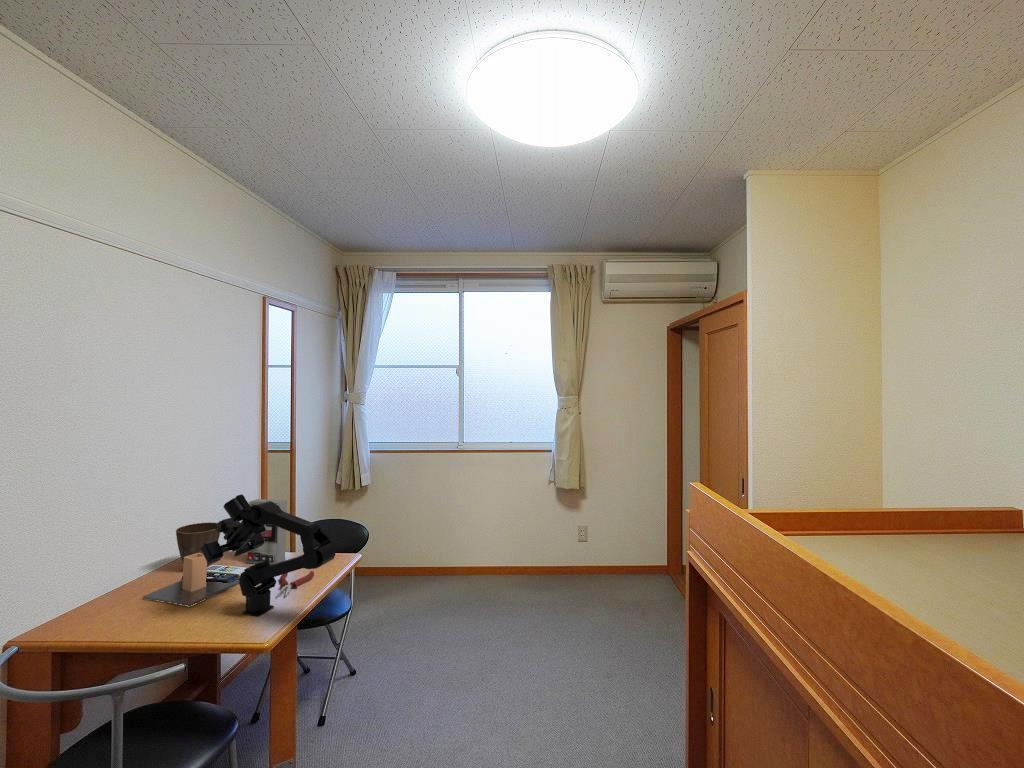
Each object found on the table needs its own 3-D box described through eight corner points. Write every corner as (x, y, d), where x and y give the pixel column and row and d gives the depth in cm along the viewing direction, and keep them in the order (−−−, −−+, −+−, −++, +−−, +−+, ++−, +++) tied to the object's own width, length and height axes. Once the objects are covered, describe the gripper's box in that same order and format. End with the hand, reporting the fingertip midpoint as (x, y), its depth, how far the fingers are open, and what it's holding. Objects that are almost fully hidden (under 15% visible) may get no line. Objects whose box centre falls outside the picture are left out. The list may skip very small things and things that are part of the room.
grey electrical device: (244, 563, 183) (247, 502, 184) (255, 558, 189) (257, 498, 190) (275, 566, 181) (278, 504, 182) (285, 561, 187) (287, 500, 188)
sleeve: (206, 586, 159) (207, 555, 159) (191, 591, 154) (192, 559, 155) (197, 583, 161) (198, 552, 161) (182, 589, 156) (183, 557, 157)
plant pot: (197, 560, 186) (199, 521, 187) (229, 563, 184) (230, 523, 184) (163, 573, 172) (165, 531, 172) (197, 577, 169) (199, 534, 170)
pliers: (262, 601, 152) (262, 593, 152) (283, 577, 172) (283, 570, 172) (298, 599, 154) (298, 591, 154) (315, 576, 173) (315, 569, 174)
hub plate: (241, 582, 165) (241, 567, 165) (190, 607, 145) (190, 590, 146) (197, 576, 170) (198, 561, 170) (142, 599, 150) (143, 582, 150)
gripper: (260, 505, 158) (238, 532, 162) (205, 517, 141) (182, 548, 145) (275, 531, 154) (252, 558, 158) (220, 547, 137) (196, 577, 141)
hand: (222, 559), depth 151 cm, fingers open, 9 cm apart
